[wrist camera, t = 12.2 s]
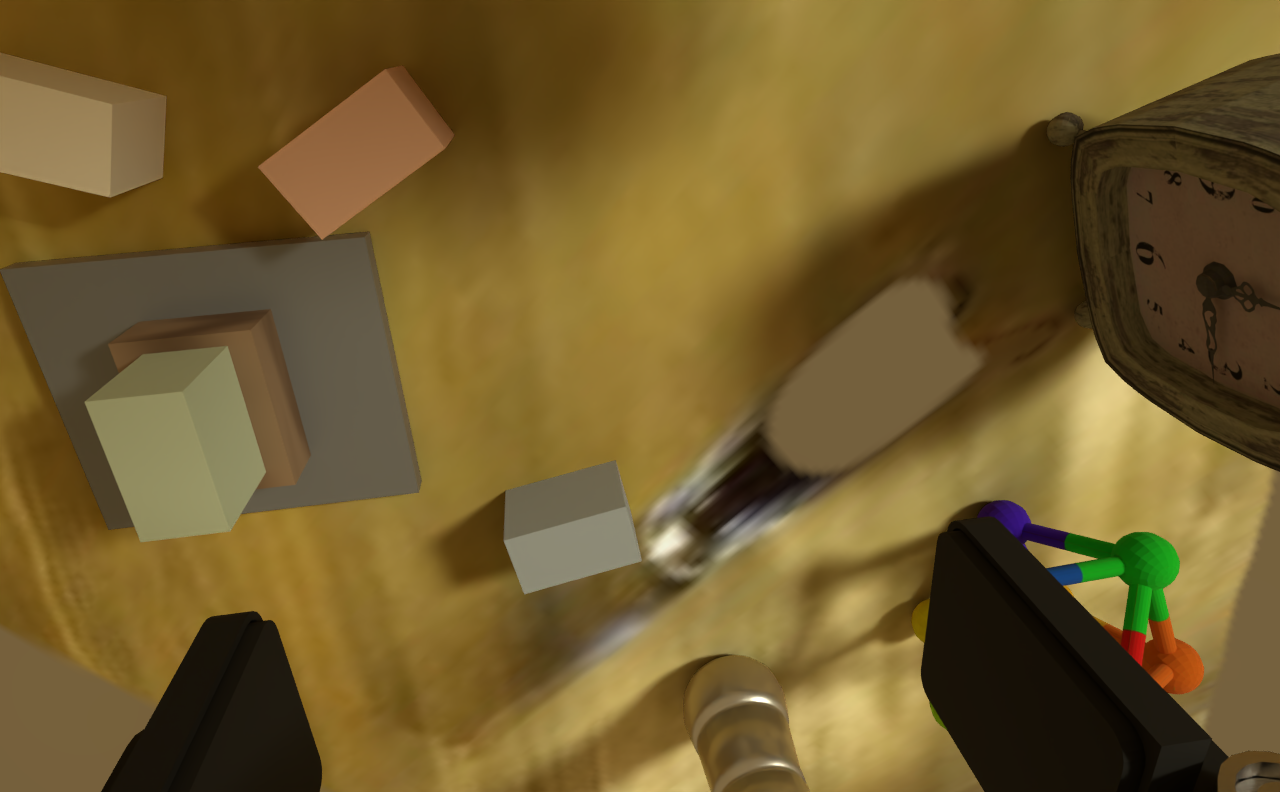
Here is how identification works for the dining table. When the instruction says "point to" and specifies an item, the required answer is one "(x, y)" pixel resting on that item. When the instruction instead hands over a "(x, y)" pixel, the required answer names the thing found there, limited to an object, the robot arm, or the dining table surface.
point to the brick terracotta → (358, 151)
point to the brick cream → (78, 129)
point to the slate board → (227, 283)
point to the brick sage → (179, 442)
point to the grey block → (569, 527)
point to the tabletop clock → (1188, 251)
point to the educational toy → (1147, 573)
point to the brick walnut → (255, 370)
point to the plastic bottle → (741, 727)
